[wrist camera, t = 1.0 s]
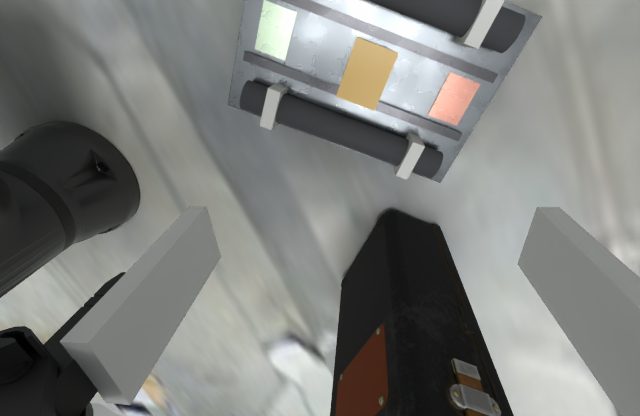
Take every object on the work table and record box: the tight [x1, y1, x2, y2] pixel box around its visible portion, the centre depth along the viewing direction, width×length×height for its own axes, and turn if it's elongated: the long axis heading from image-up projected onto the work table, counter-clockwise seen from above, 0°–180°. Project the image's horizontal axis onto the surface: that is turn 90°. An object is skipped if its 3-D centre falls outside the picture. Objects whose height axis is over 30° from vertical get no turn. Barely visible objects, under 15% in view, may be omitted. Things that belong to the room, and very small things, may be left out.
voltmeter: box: [330, 211, 514, 416], centre depth 30 cm, size 16×9×25 cm, turn 159°
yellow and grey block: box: [336, 37, 399, 111], centre depth 25 cm, size 3×4×7 cm
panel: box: [228, 0, 542, 183], centre depth 28 cm, size 24×16×3 cm, turn 72°
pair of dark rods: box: [240, 0, 525, 180], centre depth 27 cm, size 20×16×3 cm
